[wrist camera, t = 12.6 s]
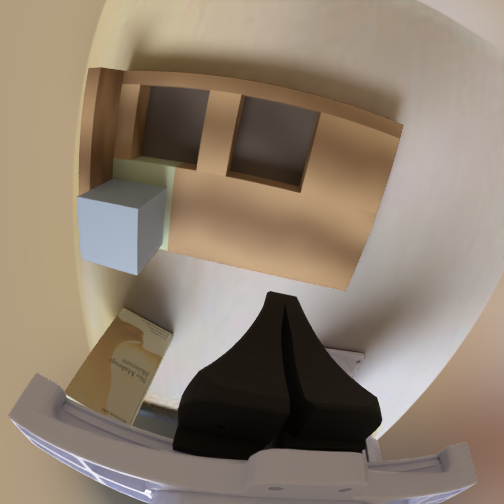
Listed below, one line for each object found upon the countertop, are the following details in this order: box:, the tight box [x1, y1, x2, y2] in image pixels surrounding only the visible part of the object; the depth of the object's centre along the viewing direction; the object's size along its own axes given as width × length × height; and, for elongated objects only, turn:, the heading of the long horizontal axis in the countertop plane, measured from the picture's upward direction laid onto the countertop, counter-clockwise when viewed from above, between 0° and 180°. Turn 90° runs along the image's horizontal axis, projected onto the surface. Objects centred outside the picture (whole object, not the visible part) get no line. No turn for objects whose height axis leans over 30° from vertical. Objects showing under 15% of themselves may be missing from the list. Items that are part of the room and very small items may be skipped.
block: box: [77, 178, 167, 275], centre depth 18 cm, size 4×4×4 cm
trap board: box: [79, 67, 403, 291], centre depth 18 cm, size 13×20×5 cm, turn 79°
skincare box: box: [65, 308, 173, 426], centre depth 23 cm, size 6×4×12 cm
